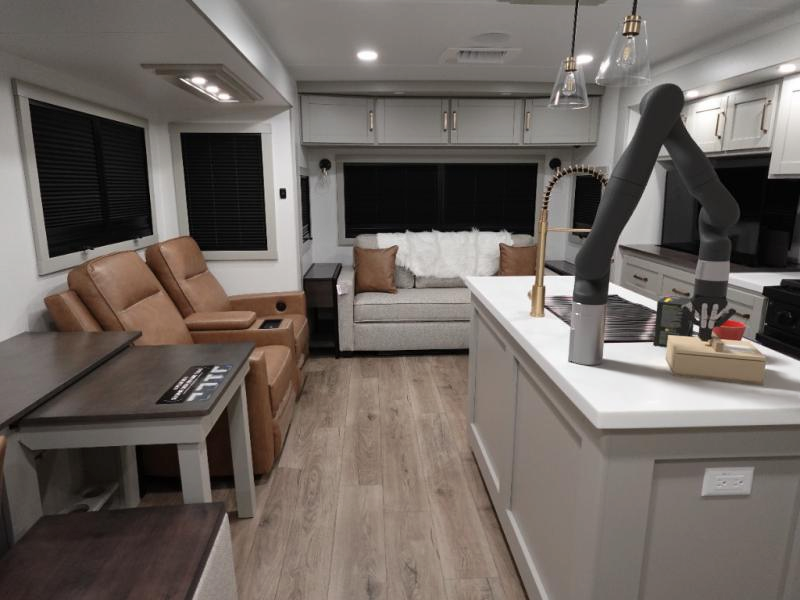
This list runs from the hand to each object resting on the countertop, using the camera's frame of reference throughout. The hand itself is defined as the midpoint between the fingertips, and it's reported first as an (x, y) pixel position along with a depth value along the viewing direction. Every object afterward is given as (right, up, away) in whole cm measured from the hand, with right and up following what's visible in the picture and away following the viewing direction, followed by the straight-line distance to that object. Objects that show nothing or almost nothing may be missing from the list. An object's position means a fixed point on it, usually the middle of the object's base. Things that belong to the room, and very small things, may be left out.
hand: (704, 340), depth 138 cm
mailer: (+2, -8, +1) cm, 9 cm away
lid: (+2, -2, 0) cm, 3 cm away
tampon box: (+5, -3, +25) cm, 26 cm away
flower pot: (+14, -5, +16) cm, 22 cm away
